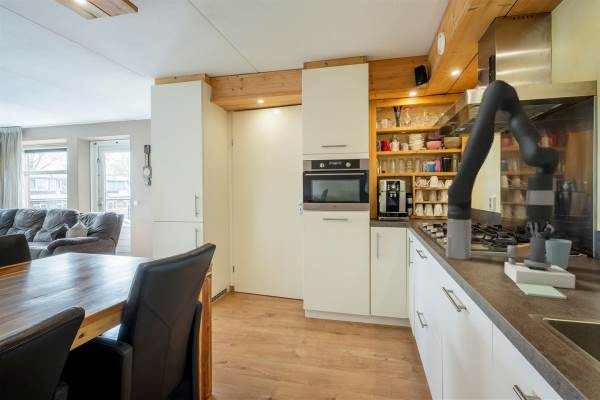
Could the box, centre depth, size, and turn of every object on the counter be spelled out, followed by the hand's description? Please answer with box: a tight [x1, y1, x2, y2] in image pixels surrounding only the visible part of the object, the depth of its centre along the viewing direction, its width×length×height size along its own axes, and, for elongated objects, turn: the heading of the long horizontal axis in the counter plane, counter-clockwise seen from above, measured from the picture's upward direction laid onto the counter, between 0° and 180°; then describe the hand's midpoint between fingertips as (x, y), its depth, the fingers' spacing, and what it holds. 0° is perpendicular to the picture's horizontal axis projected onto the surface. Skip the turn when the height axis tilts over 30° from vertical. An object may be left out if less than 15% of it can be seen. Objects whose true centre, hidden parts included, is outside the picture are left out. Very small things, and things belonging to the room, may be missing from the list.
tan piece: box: [506, 243, 530, 258], centre depth 104 cm, size 14×3×4 cm, turn 115°
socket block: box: [504, 257, 576, 290], centre depth 96 cm, size 15×12×6 cm
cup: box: [545, 238, 573, 270], centre depth 110 cm, size 8×8×10 cm
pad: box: [515, 283, 568, 300], centre depth 86 cm, size 9×9×1 cm
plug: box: [523, 238, 551, 271], centre depth 96 cm, size 7×7×14 cm
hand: (538, 251), depth 103 cm, fingers closed
